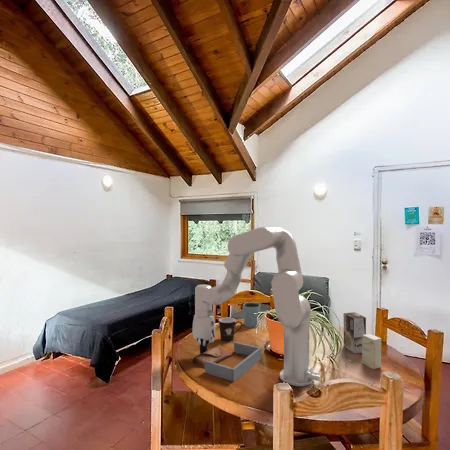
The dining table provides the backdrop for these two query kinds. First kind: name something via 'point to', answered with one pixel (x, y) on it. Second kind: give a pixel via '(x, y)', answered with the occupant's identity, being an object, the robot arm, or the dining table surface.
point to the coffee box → (354, 331)
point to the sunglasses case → (212, 356)
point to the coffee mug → (227, 328)
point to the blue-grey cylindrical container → (251, 314)
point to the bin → (238, 370)
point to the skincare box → (371, 351)
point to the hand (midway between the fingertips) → (203, 353)
